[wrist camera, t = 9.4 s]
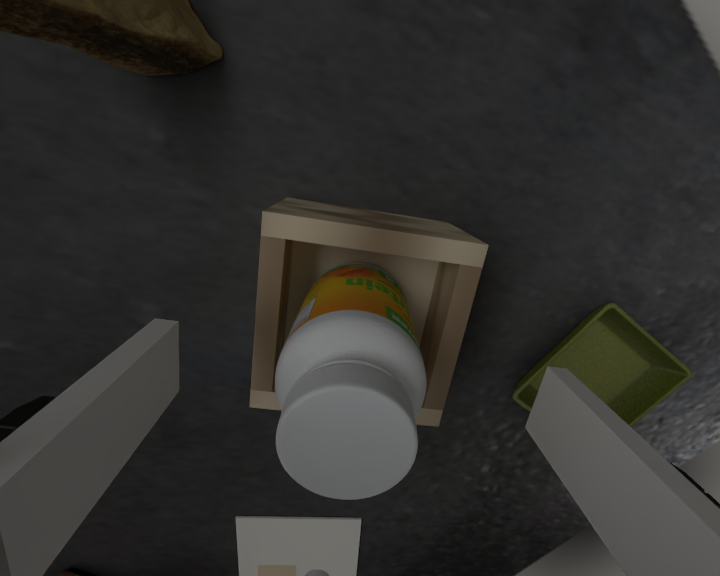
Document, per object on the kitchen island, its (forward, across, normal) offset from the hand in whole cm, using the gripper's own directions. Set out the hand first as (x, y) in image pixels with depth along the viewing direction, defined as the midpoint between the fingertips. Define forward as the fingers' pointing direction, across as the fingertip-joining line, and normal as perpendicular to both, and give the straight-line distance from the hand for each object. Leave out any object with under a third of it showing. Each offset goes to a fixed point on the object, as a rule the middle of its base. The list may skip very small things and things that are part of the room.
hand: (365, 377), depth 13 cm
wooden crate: (+10, 0, 0) cm, 10 cm away
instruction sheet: (+10, -1, -27) cm, 29 cm away
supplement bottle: (+7, 0, 0) cm, 7 cm away
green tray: (+11, +17, -4) cm, 21 cm away
